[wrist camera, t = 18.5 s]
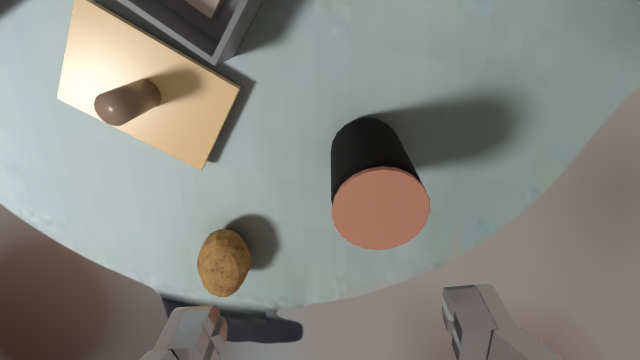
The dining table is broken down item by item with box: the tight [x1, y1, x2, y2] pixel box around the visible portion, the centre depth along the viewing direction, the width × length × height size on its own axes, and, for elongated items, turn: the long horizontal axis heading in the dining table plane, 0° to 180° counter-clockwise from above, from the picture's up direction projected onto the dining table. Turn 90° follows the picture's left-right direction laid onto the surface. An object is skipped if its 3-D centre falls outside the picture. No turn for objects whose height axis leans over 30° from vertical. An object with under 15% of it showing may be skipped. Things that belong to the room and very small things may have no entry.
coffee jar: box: [331, 118, 430, 250], centre depth 41 cm, size 11×11×18 cm
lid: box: [57, 0, 241, 170], centre depth 41 cm, size 15×22×11 cm
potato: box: [197, 229, 252, 297], centre depth 56 cm, size 10×14×8 cm
